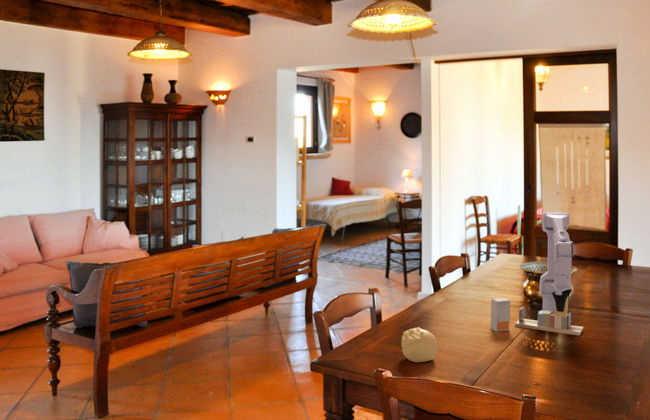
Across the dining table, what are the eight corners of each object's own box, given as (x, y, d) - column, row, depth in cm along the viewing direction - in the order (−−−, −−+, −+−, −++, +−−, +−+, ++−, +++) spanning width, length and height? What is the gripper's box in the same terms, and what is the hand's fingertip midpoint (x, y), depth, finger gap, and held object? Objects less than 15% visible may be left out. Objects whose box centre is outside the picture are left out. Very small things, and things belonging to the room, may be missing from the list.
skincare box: (496, 332, 242) (496, 301, 241) (490, 328, 246) (490, 298, 245) (510, 330, 244) (510, 300, 242) (504, 327, 248) (504, 297, 247)
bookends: (522, 319, 254) (522, 306, 253) (570, 326, 245) (571, 312, 244) (519, 322, 250) (519, 309, 249) (568, 329, 240) (568, 315, 240)
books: (540, 322, 250) (540, 309, 250) (568, 326, 245) (569, 312, 244) (537, 325, 246) (537, 312, 245) (566, 329, 241) (567, 316, 240)
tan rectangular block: (557, 313, 238) (558, 294, 237) (567, 314, 236) (568, 295, 235) (555, 315, 234) (555, 297, 233) (565, 317, 232) (565, 298, 231)
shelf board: (519, 321, 256) (519, 318, 256) (583, 329, 244) (583, 326, 244) (514, 326, 249) (515, 323, 249) (579, 335, 237) (579, 332, 237)
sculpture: (398, 354, 219) (398, 323, 217) (432, 353, 219) (432, 323, 218) (404, 366, 207) (404, 334, 206) (440, 364, 208) (441, 333, 207)
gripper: (555, 269, 241) (554, 303, 243) (547, 276, 229) (546, 313, 230) (574, 271, 238) (573, 306, 239) (568, 278, 225) (566, 315, 227)
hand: (561, 309), depth 235 cm, fingers closed on tan rectangular block, 4 cm apart
